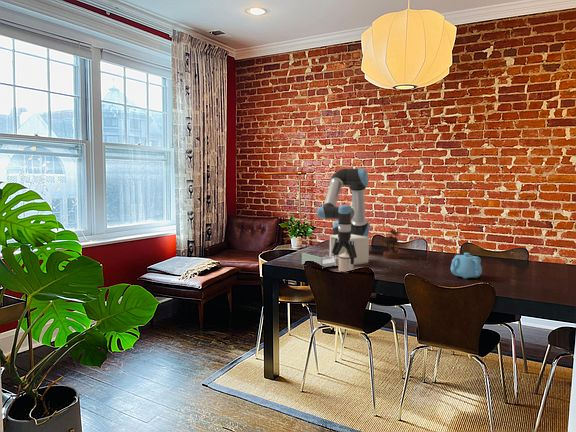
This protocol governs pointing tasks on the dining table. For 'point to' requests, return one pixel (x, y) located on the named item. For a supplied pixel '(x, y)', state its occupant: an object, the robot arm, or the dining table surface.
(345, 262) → the teacup with lid
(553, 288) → the dining table surface
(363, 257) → the housing
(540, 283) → the dining table surface
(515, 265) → the dining table surface
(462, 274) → the decorative pot
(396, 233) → the bird nest figurine
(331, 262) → the tray
